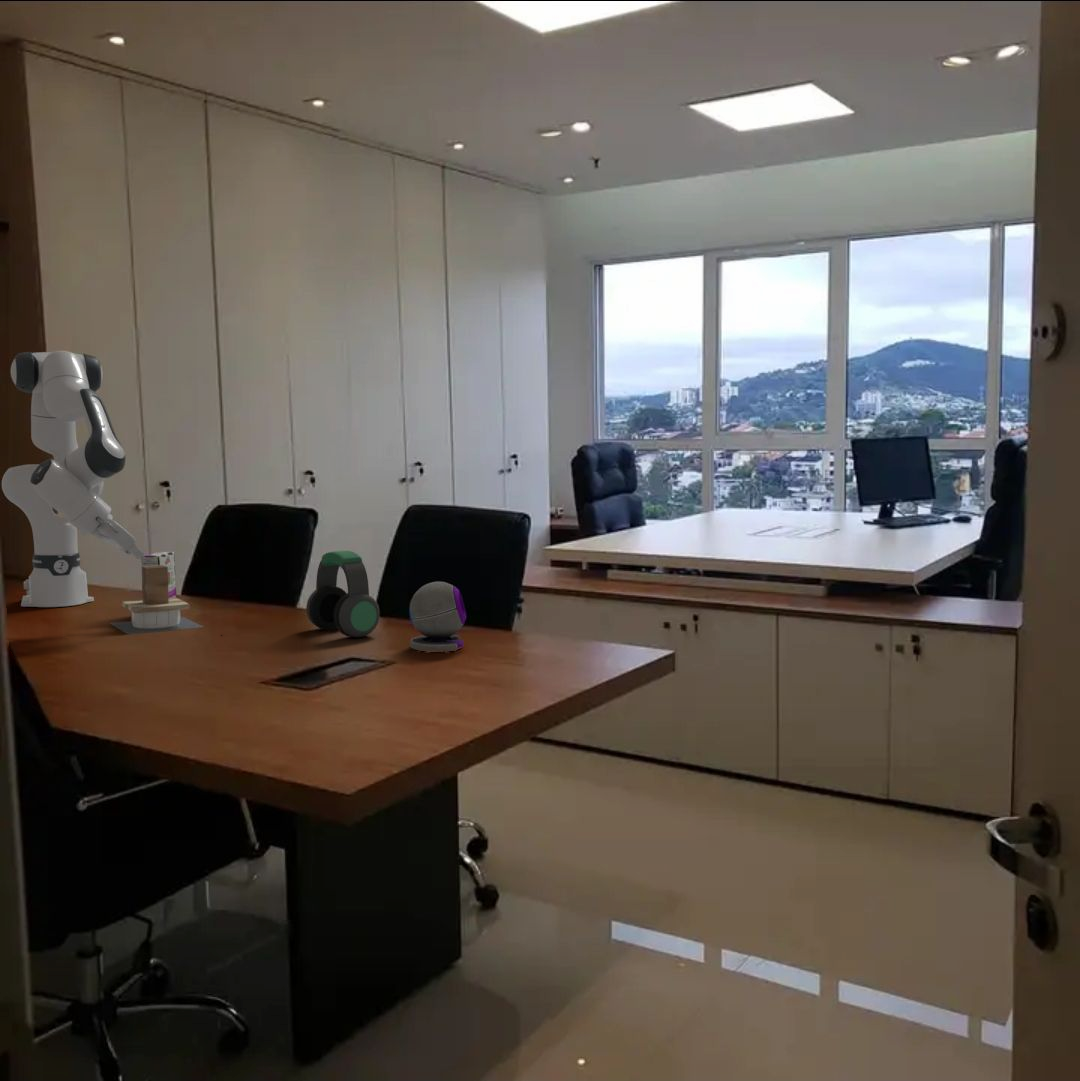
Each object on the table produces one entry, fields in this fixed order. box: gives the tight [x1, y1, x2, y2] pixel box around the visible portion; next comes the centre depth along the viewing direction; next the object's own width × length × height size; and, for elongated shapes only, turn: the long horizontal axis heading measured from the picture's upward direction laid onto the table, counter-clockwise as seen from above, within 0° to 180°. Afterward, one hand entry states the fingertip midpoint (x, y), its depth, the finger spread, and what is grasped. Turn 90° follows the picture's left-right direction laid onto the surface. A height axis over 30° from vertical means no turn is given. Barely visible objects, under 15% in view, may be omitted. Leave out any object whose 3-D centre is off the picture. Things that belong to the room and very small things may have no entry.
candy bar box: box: [140, 551, 177, 598], centre depth 279 cm, size 11×5×16 cm, turn 179°
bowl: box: [131, 610, 181, 629], centre depth 265 cm, size 11×11×4 cm
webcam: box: [408, 581, 467, 651], centre depth 242 cm, size 13×13×15 cm
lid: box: [121, 565, 191, 613], centre depth 264 cm, size 13×13×10 cm
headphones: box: [305, 550, 381, 638], centre depth 258 cm, size 19×11×20 cm, turn 42°
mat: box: [109, 616, 204, 635], centre depth 265 cm, size 18×18×1 cm
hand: (135, 554), depth 261 cm, fingers open, 8 cm apart
